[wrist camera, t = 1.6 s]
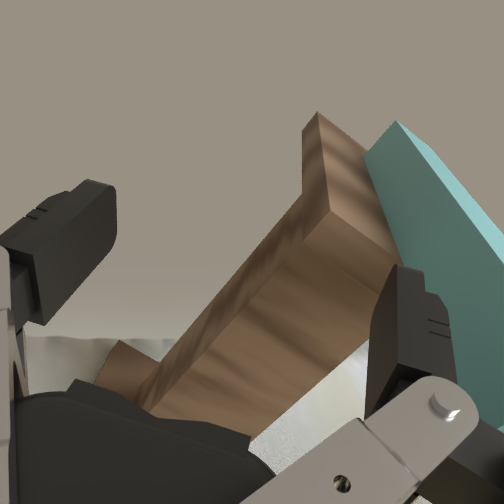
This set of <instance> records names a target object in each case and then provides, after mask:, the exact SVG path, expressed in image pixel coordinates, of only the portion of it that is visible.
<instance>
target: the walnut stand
mask: <svg viewBox="0 0 504 504" xmlns="http://www.w3.org/2000/svg"><path fill="white" fill-rule="evenodd" d="M367 152H368V150H366V149H365V148H364V147H362V146H361V145H360V144H359V143H357V142H356V141H355V140H353V139H352V138H351V137H350V136H348V135H347V134H346V133H345V132H343V131H342V130H341V129H339V128H338V127H337V126H335V125H334V124H333V123H332V122H330V121H329V120H328V119H327V118H325V117H324V116H323V115H321V114H320V113H319V112H316V113H315V115H314V116H313V118H312V119H311V120H310V121H309V122H308V124H307V125H306V127H305V128H304V129H303V130H302V194H301V196H300V197H299V198H298V199H297V200H296V202H295V203H294V204H293V205H292V206H291V208H290V209H289V210H288V211H287V212H286V214H284V216H283V217H282V218H281V219H280V220H279V222H278V223H277V224H276V225H275V226H274V228H273V229H272V230H271V231H270V232H269V233H268V235H267V236H266V237H265V238H264V239H263V241H262V242H261V243H260V244H259V245H258V247H257V248H256V249H255V250H254V251H253V253H252V254H251V255H250V256H249V257H248V258H247V260H246V261H245V262H244V263H243V264H242V266H241V267H240V268H239V269H238V270H237V272H236V273H235V274H234V275H233V276H232V278H231V279H230V280H229V281H228V282H227V284H226V285H225V286H224V287H223V288H222V289H221V290H220V292H219V293H218V294H217V295H216V296H215V298H214V299H213V300H212V301H211V302H210V304H209V305H208V306H207V307H206V308H205V309H204V311H203V312H202V313H201V314H200V315H199V317H198V318H197V319H196V320H195V321H194V322H193V324H192V325H191V326H190V327H189V328H188V330H187V331H186V332H185V333H184V334H183V336H182V337H181V338H180V339H179V340H178V341H177V343H176V344H175V345H174V346H173V347H172V349H171V350H170V351H169V352H168V353H167V355H166V356H165V357H164V358H163V359H162V360H161V362H160V363H158V362H156V361H155V360H153V359H151V358H150V357H148V356H146V355H144V354H143V353H141V352H139V351H137V350H136V349H134V348H132V347H130V346H129V345H127V344H125V343H124V342H122V341H120V340H119V341H118V342H117V343H116V345H115V346H114V347H113V349H112V351H111V352H110V354H109V356H108V358H107V360H106V362H105V364H104V366H103V367H102V369H101V371H100V373H99V375H98V377H97V379H96V381H95V382H94V384H93V385H96V386H99V387H102V388H105V389H108V390H111V391H114V392H117V393H119V394H121V395H122V396H124V397H125V398H127V399H128V400H130V401H131V402H133V403H134V404H136V405H138V406H139V407H141V408H142V409H144V410H145V411H147V412H148V413H150V414H151V415H153V416H155V417H158V418H166V419H179V420H191V421H204V422H209V423H212V424H215V425H218V426H221V427H225V428H228V429H231V430H234V431H237V432H240V433H243V434H246V435H249V436H252V437H251V441H253V440H254V439H255V438H256V437H257V436H258V435H259V434H261V433H262V432H263V431H264V430H265V429H266V428H267V427H269V426H270V425H271V424H272V423H273V422H274V421H275V420H277V419H278V418H279V417H280V416H281V415H282V414H283V413H285V412H286V411H287V410H288V409H289V408H290V407H291V406H292V405H294V404H295V403H296V402H297V401H298V400H299V399H300V398H302V397H303V396H304V395H305V394H306V393H307V392H308V391H310V390H311V389H312V388H313V387H314V386H315V385H316V384H318V383H319V382H320V381H321V380H322V379H323V378H324V377H326V376H327V375H328V374H329V373H330V372H331V371H332V370H334V369H335V368H336V367H337V366H338V365H339V364H340V363H342V362H343V361H344V360H345V359H346V358H347V357H348V356H349V355H351V354H352V353H353V352H354V351H355V350H356V349H357V348H359V347H360V346H361V345H362V344H363V343H364V342H365V341H367V340H368V339H369V336H370V324H371V318H372V314H373V311H374V308H375V305H376V303H377V301H378V298H379V296H380V294H381V292H382V289H383V287H384V285H385V282H386V280H387V278H388V276H389V273H390V271H391V269H392V267H393V266H394V264H399V265H403V262H402V259H401V257H400V254H399V251H398V249H397V246H396V243H395V241H394V238H393V236H392V233H391V230H390V228H389V225H388V222H387V220H386V217H385V214H384V212H383V209H382V206H381V204H380V201H379V198H378V196H377V193H376V190H375V188H374V185H373V182H372V180H371V177H370V174H369V172H368V169H367V166H366V164H365V161H364V158H363V157H364V155H365V154H366V153H367ZM403 266H404V265H403ZM251 441H250V442H251Z"/></svg>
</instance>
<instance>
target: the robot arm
mask: <svg viewBox="0 0 504 504" xmlns="http://www.w3.org/2000/svg"><path fill="white" fill-rule="evenodd" d="M116 209H117V208H116V190H115V188H114V187H113V186H111V185H107V184H104V183H100V182H96V181H93V180H90V179H87V180H84V181H83V182H82V183H81V184H79V185H78V186H77V187H76V188H75V189H73V190H72V191H71V192H68V191H64V192H61V193H59V194H56V195H53V196H51V197H48V198H47V199H46V200H45V201H43V202H42V203H41V204H39V205H38V206H37V207H36V209H33V210H32V211H31V212H29V213H28V214H27V215H26V217H23V218H22V219H20V220H19V221H18V222H16V223H15V224H14V225H13V226H11V227H10V228H9V229H8V230H6V231H5V232H4V233H3V234H1V235H0V504H413V503H414V502H415V501H416V500H417V499H418V498H419V497H420V496H422V497H423V498H425V499H426V500H428V501H429V502H431V503H432V504H504V433H503V432H501V431H499V430H498V429H496V428H494V427H493V426H491V425H489V424H488V423H486V422H485V421H483V420H482V419H481V418H479V414H478V410H477V407H476V405H475V403H474V401H473V400H472V399H471V397H470V396H469V395H468V394H467V393H466V392H465V391H464V390H463V389H462V388H461V387H459V386H458V382H457V374H456V367H455V359H454V352H453V344H452V340H451V338H452V337H451V330H450V328H449V326H450V322H449V315H448V310H447V308H446V306H445V305H444V303H443V302H442V300H441V299H440V297H439V295H437V294H433V293H430V292H426V291H425V279H424V272H423V271H421V270H417V269H413V268H410V267H406V266H403V265H399V264H394V266H393V267H392V269H391V271H390V273H389V276H388V278H387V280H386V282H385V285H384V287H383V289H382V292H381V294H380V296H379V298H378V301H377V303H376V305H375V308H374V311H373V314H372V318H371V324H370V336H369V352H368V367H367V383H366V398H365V414H364V421H362V420H361V419H360V418H355V419H353V420H351V421H350V422H348V423H347V424H345V425H344V426H343V427H341V428H340V429H339V430H337V431H336V432H335V433H333V434H332V435H331V436H329V437H328V438H327V439H325V440H324V441H323V442H321V443H320V444H319V445H317V446H316V447H315V448H313V449H312V450H311V451H309V452H308V453H307V454H305V455H304V456H302V457H301V458H300V459H298V460H297V461H296V462H294V463H293V464H292V465H290V466H289V467H288V468H286V469H285V470H284V471H282V472H281V473H280V474H278V475H276V474H275V473H274V472H273V471H272V470H271V469H270V468H269V467H268V465H267V464H266V463H264V462H263V461H262V460H261V459H259V458H258V457H257V456H256V455H254V454H253V453H251V452H250V451H248V448H249V444H250V441H251V437H252V436H249V435H246V434H243V433H240V432H237V431H234V430H231V429H228V428H225V427H221V426H218V425H215V424H212V423H209V422H204V421H191V420H179V419H166V418H158V417H155V416H153V415H151V414H150V413H148V412H147V411H145V410H144V409H142V408H141V407H139V406H138V405H136V404H134V403H133V402H131V401H130V400H128V399H127V398H125V397H124V396H122V395H121V394H119V393H117V392H114V391H111V390H108V389H105V388H102V387H99V386H96V385H93V384H90V383H87V382H84V381H81V380H78V379H75V380H74V381H73V383H72V384H71V386H70V387H69V388H68V390H67V391H66V392H63V391H58V392H45V393H38V394H34V395H29V391H28V376H27V360H26V344H25V333H24V328H23V325H24V324H25V323H26V322H27V321H30V322H33V323H37V324H40V325H43V326H45V325H46V324H47V323H48V322H49V320H50V319H51V318H52V317H53V316H54V315H55V313H56V312H57V311H58V310H59V309H60V308H61V307H62V305H63V304H64V303H65V302H66V301H67V300H68V298H69V297H70V296H71V295H72V294H73V293H74V291H76V289H77V288H78V287H79V286H80V285H81V283H83V281H84V280H85V279H86V278H87V277H88V276H89V275H90V273H91V272H92V271H93V270H94V269H95V268H96V266H97V265H98V264H99V263H100V262H101V261H102V260H103V259H104V257H105V256H106V255H107V254H108V253H109V252H110V250H111V249H112V247H113V245H114V242H115V239H116V235H117V210H116Z"/></svg>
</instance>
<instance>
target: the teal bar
mask: <svg viewBox="0 0 504 504" xmlns="http://www.w3.org/2000/svg"><path fill="white" fill-rule="evenodd" d="M363 158H364V161H365V164H366V166H367V169H368V172H369V174H370V177H371V180H372V182H373V185H374V188H375V190H376V193H377V196H378V198H379V201H380V204H381V206H382V209H383V212H384V214H385V217H386V220H387V222H388V225H389V228H390V230H391V233H392V236H393V238H394V241H395V243H396V246H397V249H398V251H399V254H400V257H401V259H402V262H403V265H404V266H406V267H410V268H413V269H417V270H421V271H423V272H424V279H425V291H426V292H430V293H433V294H437V295H439V297H440V299H441V300H442V302H443V303H444V305H445V306H446V308H447V310H448V315H449V322H450V326H449V328H450V330H451V337H452V338H451V340H452V344H453V352H454V359H455V367H456V374H457V382H458V386H459V387H461V388H462V389H463V390H464V391H465V392H466V393H467V394H468V395H469V396H470V397H471V399H472V400H473V401H474V403H475V405H476V407H477V410H478V414H479V418H481V419H482V420H483V421H485V422H486V423H488V424H489V425H491V426H493V427H494V428H496V429H498V430H499V431H501V432H503V433H504V235H503V234H502V233H501V231H500V230H499V229H498V228H497V227H496V225H495V224H494V223H493V222H492V221H491V219H490V218H489V217H488V216H487V215H486V214H485V212H484V211H483V210H482V209H481V208H480V206H479V205H478V204H477V203H476V202H475V200H474V199H473V198H472V197H471V196H470V195H469V193H468V192H467V191H466V190H465V188H464V187H463V186H462V185H461V184H460V183H459V181H458V180H457V179H456V178H455V177H454V175H453V174H452V173H451V172H450V171H449V169H448V168H447V167H446V166H445V165H444V163H443V162H442V161H441V160H440V159H439V157H438V156H437V155H436V154H435V153H434V152H433V150H432V149H431V148H430V147H428V146H427V145H426V144H425V143H424V142H422V141H421V140H420V139H419V138H418V137H416V136H415V135H414V134H413V133H411V132H410V131H409V130H407V129H406V128H405V127H404V126H403V125H402V124H400V123H399V122H398V121H394V122H393V124H392V125H391V126H390V127H389V128H388V129H387V130H386V132H385V133H384V134H383V135H382V136H381V137H380V138H379V140H378V141H377V142H376V143H375V144H374V145H373V147H372V148H371V149H370V150H369V151H368V152H367V153H366V154H365V155H364V157H363Z"/></svg>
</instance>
